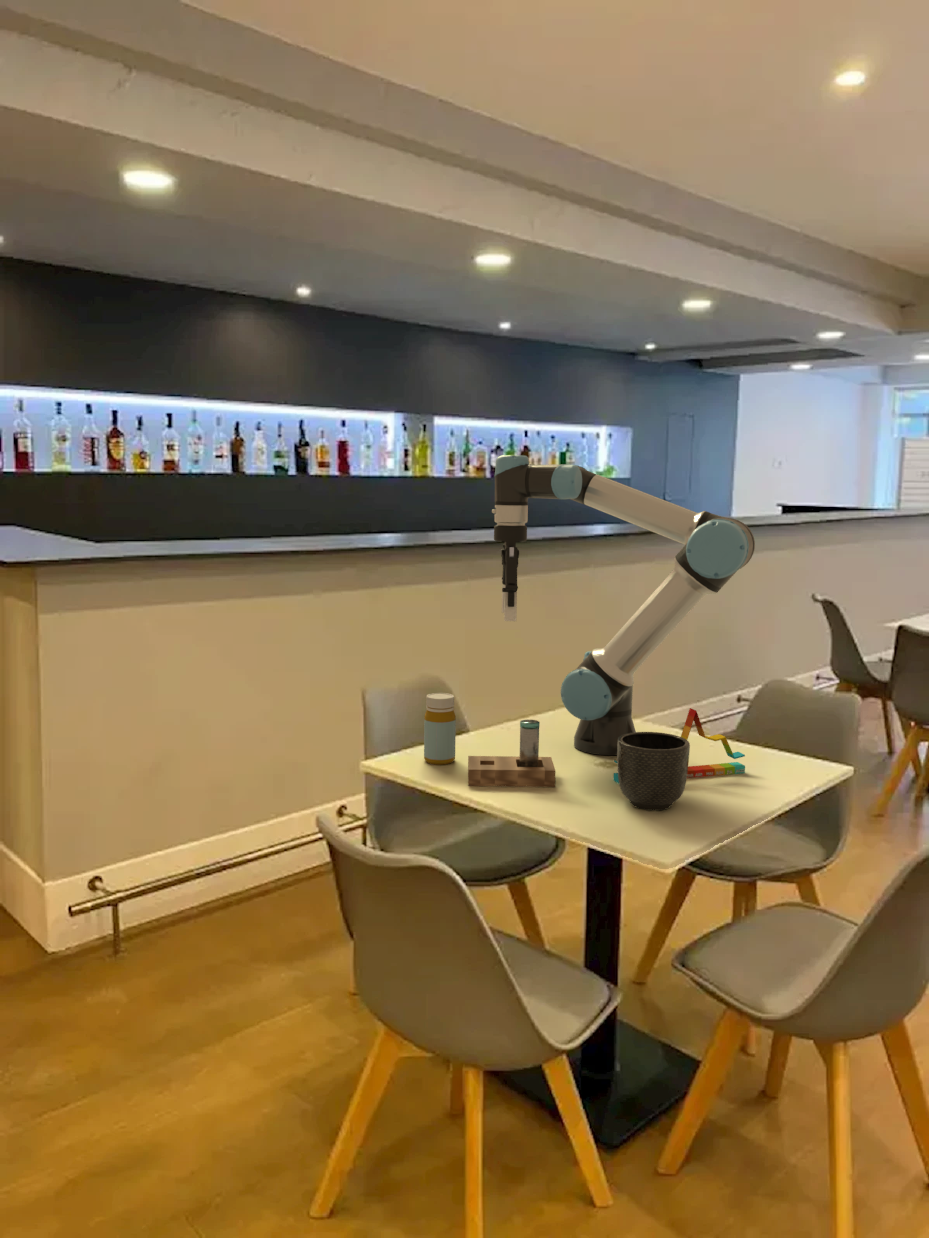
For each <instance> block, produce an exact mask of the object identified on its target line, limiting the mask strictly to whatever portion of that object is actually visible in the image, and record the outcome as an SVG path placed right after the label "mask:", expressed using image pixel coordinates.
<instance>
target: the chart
mask: <svg viewBox="0 0 929 1238" xmlns="http://www.w3.org/2000/svg"><path fill="white" fill-rule="evenodd" d="M693 724H694V725H695V728H696V731H697V734H698V736H700V737H702V738H704V739H705V740H710V741H714V742H718V741H721V743H722V745H723V748H724V750H725V753H726V755H727V756H728V757H729V758H732V759H734V760H737V759H740V758H743V757H746V755H745V754H744V753H742V752H740V751H735V752H733V750H732V749H731V746H730V744H729V741H728V739H727V737H726V736H725V735H722V734H720V733H717V734H714V735H710V736H708V735H706V734H705V731H704V729H703V726H702V723H701V720H700V717H699V715H698V711H697V710H695V709H693V708H692V707H690V708H689V709H688V713H687V716H686V719H685V723H684V725H683V729H682V732H681V734H680V737H682V738H684V739H686V740H687V741H688V740H689V736H690V733H691V730H692V727H693ZM613 762H614V763H616V764H617V760H615V759H614V761H613ZM745 772H746V765H744V764H742V763H740V762H738V761H733V762H724V763H714V764H713V763H712V764H702V765H690V766H689V765H688V772H687V779H694V778H705V777H714V776H715V777H716V776H725V775H726V776H727V775H737V774H745ZM612 776H613V777H612V778H613V781H614V782H616V783H617V784H619V779H618V772H613V775H612Z"/></svg>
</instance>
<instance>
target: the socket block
mask: <svg viewBox="0 0 929 1238" xmlns="http://www.w3.org/2000/svg"><path fill="white" fill-rule="evenodd" d="M519 760H520V756H507V755H506V756H504V755H503V756H501V755H498V756H497V755H492V756H491V755H468V759H467V779H468V781H467V782H468V784H467V786H468V787H527V788H528V787H529V788H530V787H531V788H533V787H535V788H556V769H555V768H556V767H555V764H554V761H553V758H552V756H538V767H519Z"/></svg>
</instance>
